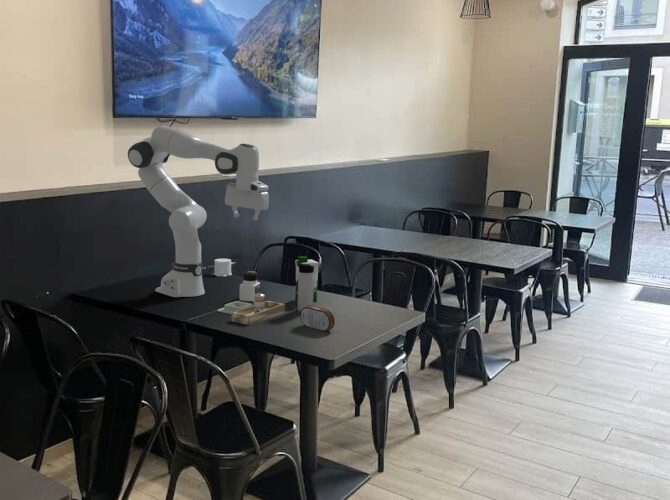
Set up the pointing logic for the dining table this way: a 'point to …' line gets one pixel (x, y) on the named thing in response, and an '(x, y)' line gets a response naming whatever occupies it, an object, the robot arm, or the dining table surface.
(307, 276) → the travel mug
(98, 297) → the dining table surface
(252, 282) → the medicine bottle
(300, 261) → the milk carton
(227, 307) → the checker cradle
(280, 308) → the trough
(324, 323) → the tin
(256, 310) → the cell
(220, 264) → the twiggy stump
